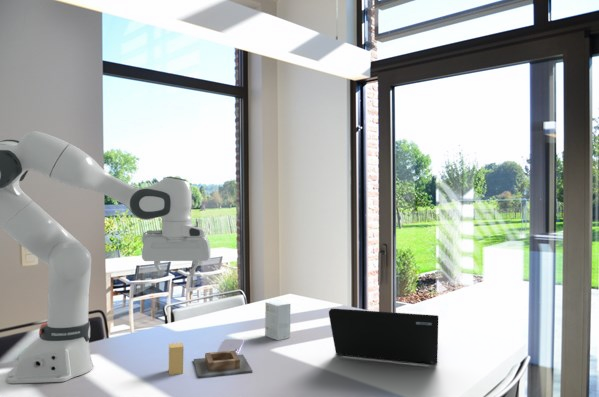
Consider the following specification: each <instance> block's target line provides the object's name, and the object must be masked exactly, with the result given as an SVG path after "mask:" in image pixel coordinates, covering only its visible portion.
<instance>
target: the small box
mask: <svg viewBox="0 0 599 397" xmlns="http://www.w3.org/2000/svg"><path fill="white" fill-rule="evenodd" d="M264 316H265V317H264V318H265V320H264V321H265V322H264V323H265V324H264V325H265V326H264V329H265V330H264V336H266V337H267V338H270V339H273V340H274V341H275V340H276V341H281V340H286V339H290V338H291V303H289V302H286V301H282V300H272V301H265V315H264Z"/></svg>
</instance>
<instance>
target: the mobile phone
mask: <svg viewBox="0 0 599 397" xmlns="http://www.w3.org/2000/svg"><path fill="white" fill-rule="evenodd" d="M244 343H245V340H244V339H241V338H240V339H237V338H235V339H232V338H231V339H229V338H227V339H223V342H222V343H221V345H220V346H219V348H218V349H217V351H216V352H223V351H234V350H235V352H236V354H237V355H239V353H240V352H241V351H242V347H243V346H244Z"/></svg>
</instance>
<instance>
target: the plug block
mask: <svg viewBox="0 0 599 397" xmlns="http://www.w3.org/2000/svg"><path fill="white" fill-rule="evenodd" d="M181 374H184V344H183V342H176V343H175V342H174V343H169V344H168V375H169V376H173V375H181Z"/></svg>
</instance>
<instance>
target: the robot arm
mask: <svg viewBox="0 0 599 397" xmlns="http://www.w3.org/2000/svg"><path fill="white" fill-rule="evenodd" d="M29 171H33V172H37V173H39V174H41V175H43V176H45V177H48V178H49V179H52V180H54V181H55V182H57V183H58V182H59V183H61V184H64V185H67V186H69V187H74V188H79V189H84V190H85V189H86V190H91V191H95V192H98V193H100V194H102V195H105V196H106V197H109V198H111V199H113V200H115V201H116V202H119V203H121V204H122V205H124V206H125V207H126V208H127V209H128V210H129V212H130V213H131V214H132V215H134V216H135V217H136V218H137V219H140V220H143V221H150V220H153V219H156V218H161V230H159V229H157V230H156V229H155V230H149V229H148V230H146V231H145V232H143V233H142V236H141V243H142V244H143V245H142V249H141V250H142V251H141V258H142V260H143V261H144V262H153V265H154V267H155V269H156V271H157V276H158V277H164V275H165V269H164V268H163V269H162V268H161V266H160V264H161V262H192V265H194V266H193V268H191V269H189V276H191V277H194V276H196V269H197V268H198V266H199V263H200V261H201V262H202V261H203V262H207V261H209V260H210V258H211V245H210V241H209V240H210V239H208V237H207V236H206V235H207V229H206V228H204V227H201V226H198V225H195V224H193V223H192V222H193V221H192V215H191V212H192V211H191V210H192V207H193V202H192V199H193V198H192V188H191V184H190V182H188V181H187V180H185V179H183V178H180V177H174V176H166V177H164V178H163V179H161V180H160V181H158V182H156V183H153V184H151V185H149V186H146V187H137V186H135V185H134V186H133V185H132V184H129V183H128V182H126V181H123V180H122V179H120V178H117V177H116V176H114V175H112V174H111V173H110V172H107V171H106V170H105V169H104V168H103V167H101V165H100V164H99V162H97V161H96V160H95V159H94V158H93V157H92V156H91V155H89V154H88V153H86V152H85V151H84V150H82V149H81V148H79V147H77V146H75V145H73V144H71V143H69V142H67V141H66V140H63V139H61V138H59V137H56V136H54V135H51V134H49V133H45V132H43V131H37V130H34V131H32V130H31V131H30V132H27V133H26V134H24V135H22V137H21V138H20V140H17V139H4V140H1V141H0V229H2V230H3V231H4V232H5V233H6V234H7V235H9V236H10V237H11V238H12V239H14V240H15V241H16V242H17V243H18V244H20V245H21V246H22V247H23V248H24V249H26V250H27V251H28V252H30V253H31V254H32V255H33V256H35V257H36V258H38V259H39V260H40V261H41V262H42V263H44V264H45V265H47V267H48V285H47V286H48V289H47V290H48V291H47V317H46V318H47V322H43V323H42V324H41V325H40V328H39V333H38V336H39V338H38V339H36V341H34V342H32V343H31V344H30V345H29V346H28V347H26V348H25V349H24V350H23V351H21V353H20V354H19V355H18V356H19V357H18V358H17V362H16V366H15V367H13V368H12V369H11V370H10V371H9V372H8V373H7V374H6V379H5V380H6V382H7V383H8V384H35V383H36V384H37V383H39V384H41V383H62V382H66V381H69V380H71V379H72V378H75V377H78V376H81V375H85V374H87V373H89V372H90V371H92V370H93V368H94V363H93V360H92V356H91V350H90V349H91V348H90V338H91V324H90V322H91V321H90V320H89V304H90V303H89V299H90V298H89V296H90V287H91V276H92V275H91V274H92V273H91V272H92V255H91V252H90V251H89V250H88V248H87V247H85V246H84V244H82V243H81V242H80V241H79V240H78V239H77V238H75V237H74V236H73V235H72V234H71V233H70V232H69V231H68V230H66V229H65V227H63V226H62V225H61V224H60V223H59V222H58V221H57V220H55V219H54V217H52V216H51V215H50V214H49V213H47V211H45V209H43V208H42V207H41V206H40V205H39V204H38V203H37V202H35V201H34V200H33V199H32V198H31V197H30V196H29V195H28V194H26V193H25V192H24V190H22V188H21V187H20V182H22V181H24V179H25V177H26V176H27V174H28V172H29Z"/></svg>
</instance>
